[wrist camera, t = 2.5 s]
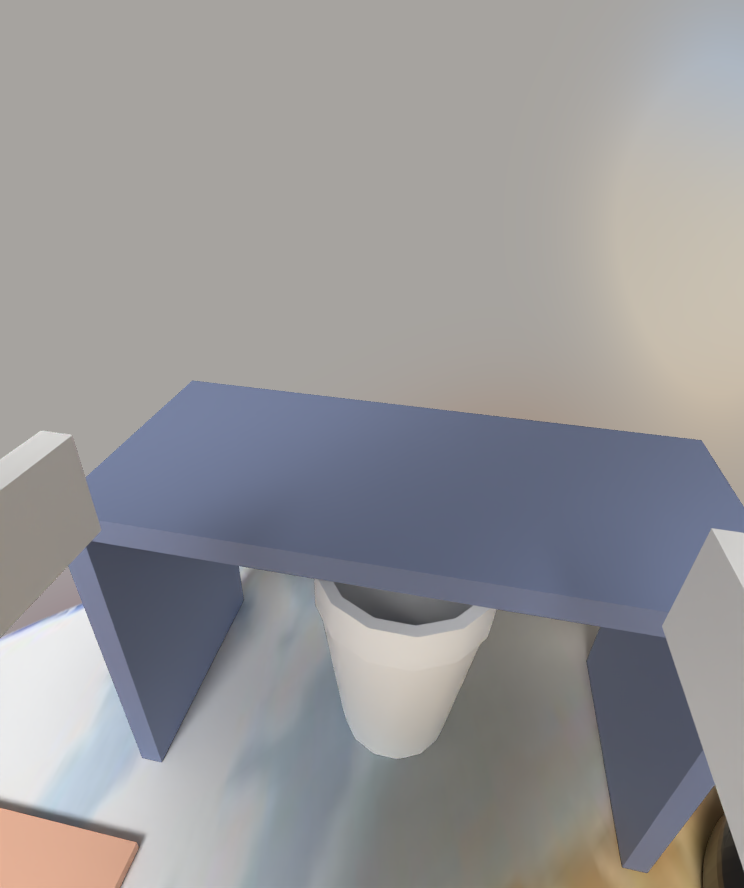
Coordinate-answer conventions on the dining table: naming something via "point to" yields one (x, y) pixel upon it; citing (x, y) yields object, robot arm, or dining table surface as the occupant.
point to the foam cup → (398, 661)
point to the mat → (59, 854)
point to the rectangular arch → (411, 552)
